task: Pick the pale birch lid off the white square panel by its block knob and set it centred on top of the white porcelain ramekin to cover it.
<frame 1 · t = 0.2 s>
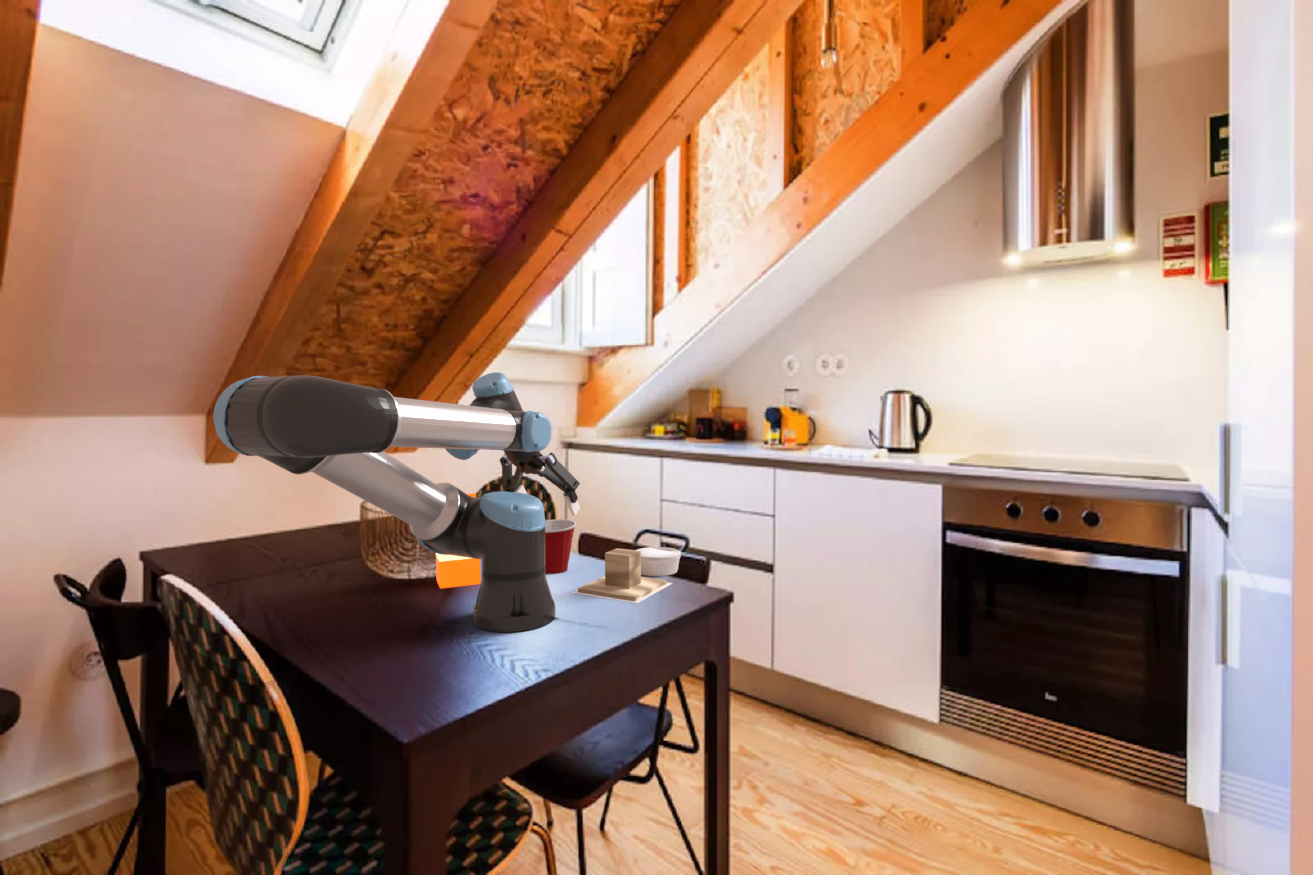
hand: (552, 510, 153), 15 cm above the table, tool tilted 35°, fingers open, 13 cm apart
white square panel: (623, 590, 140), on the table
birch lid: (623, 587, 140), point 1 cm above the table, touching white square panel
orange juice: (458, 582, 148), on the table
plastic cup: (554, 573, 155), on the table
ramekin: (657, 574, 155), on the table
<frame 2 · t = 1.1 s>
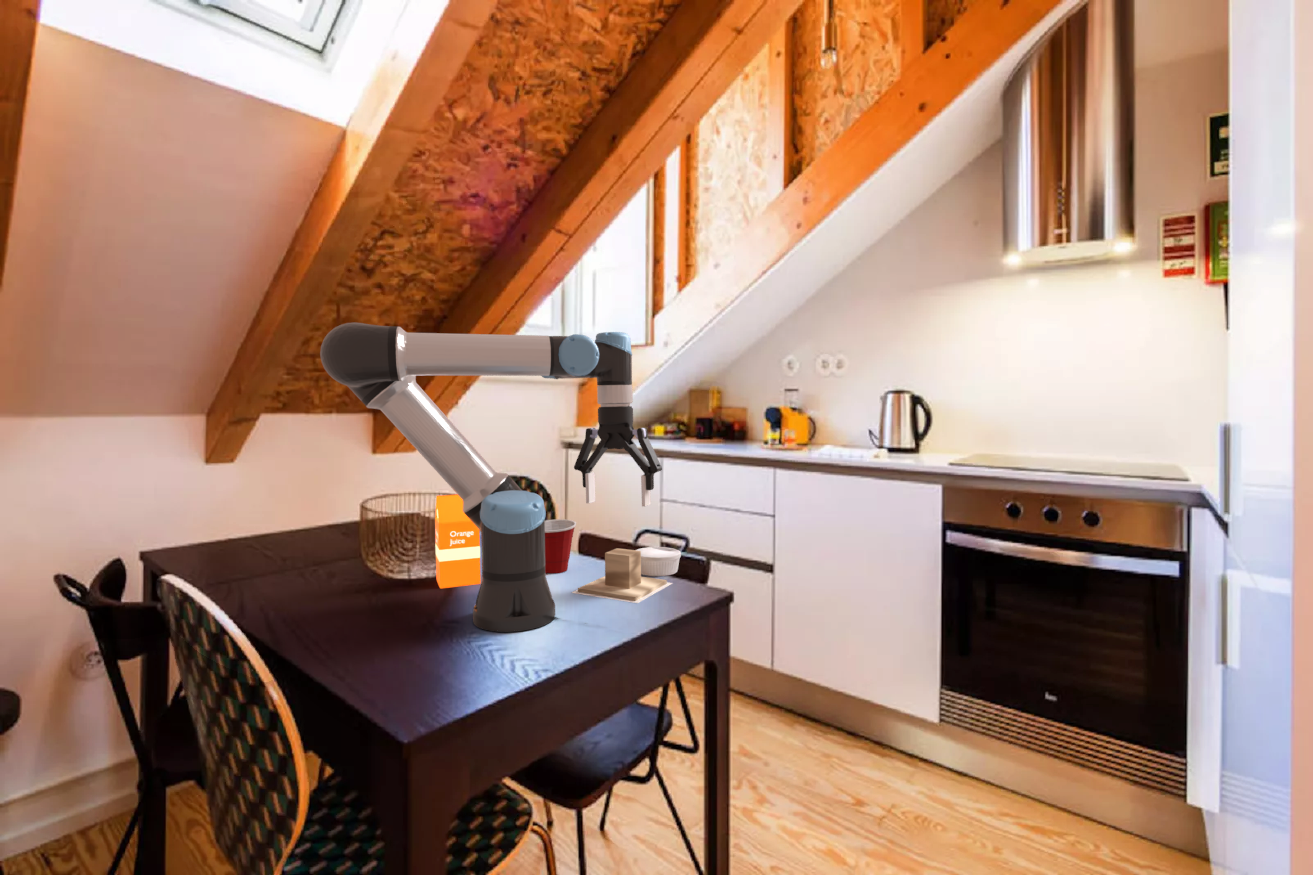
hand: (618, 504, 140), 19 cm above the table, tool pointing down, fingers open, 13 cm apart
nothing on the table moved.
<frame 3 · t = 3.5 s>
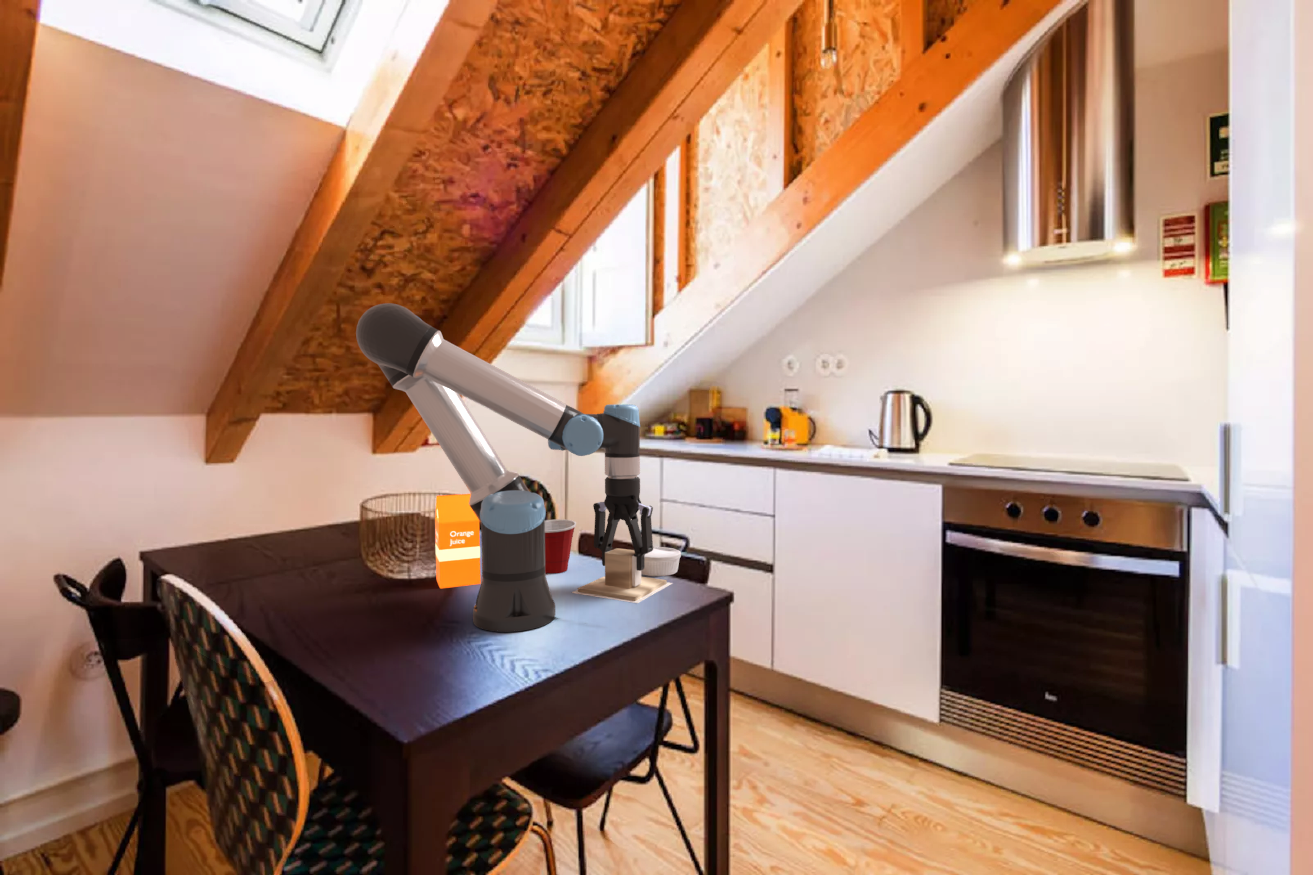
hand: (623, 582, 140), 2 cm above the table, tool pointing down, fingers closed on birch lid, 6 cm apart
birch lid: (623, 587, 140), point 1 cm above the table, touching white square panel, gripper
everything else where it was.
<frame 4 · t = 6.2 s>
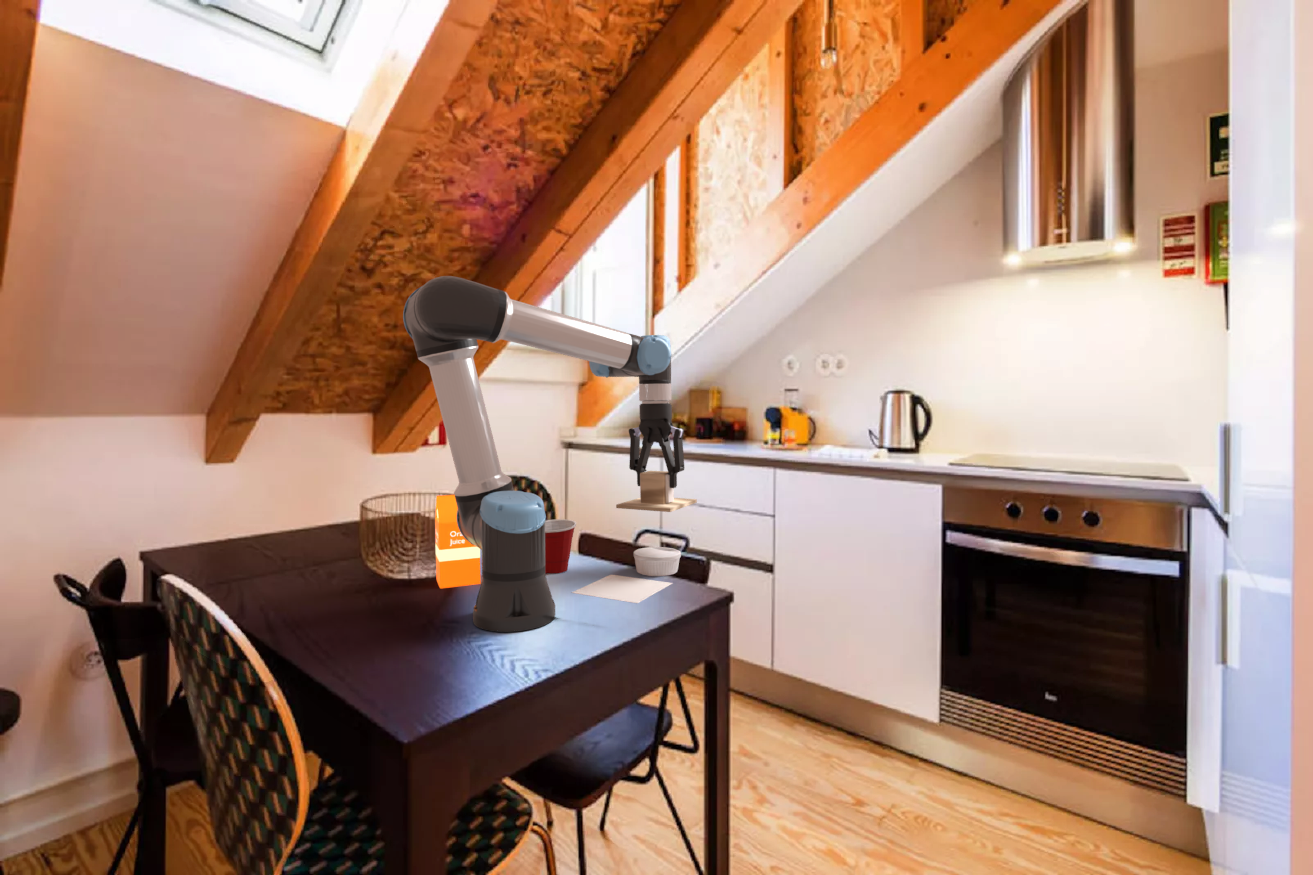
hand: (657, 500, 153), 17 cm above the table, tool pointing down, fingers closed on birch lid, 6 cm apart
birch lid: (657, 505, 153), point 16 cm above the table, touching gripper
everything else where it was.
when the fingers open (8 cm above the table, at t = 8.8 s): birch lid drops 1 cm, resting on ramekin.
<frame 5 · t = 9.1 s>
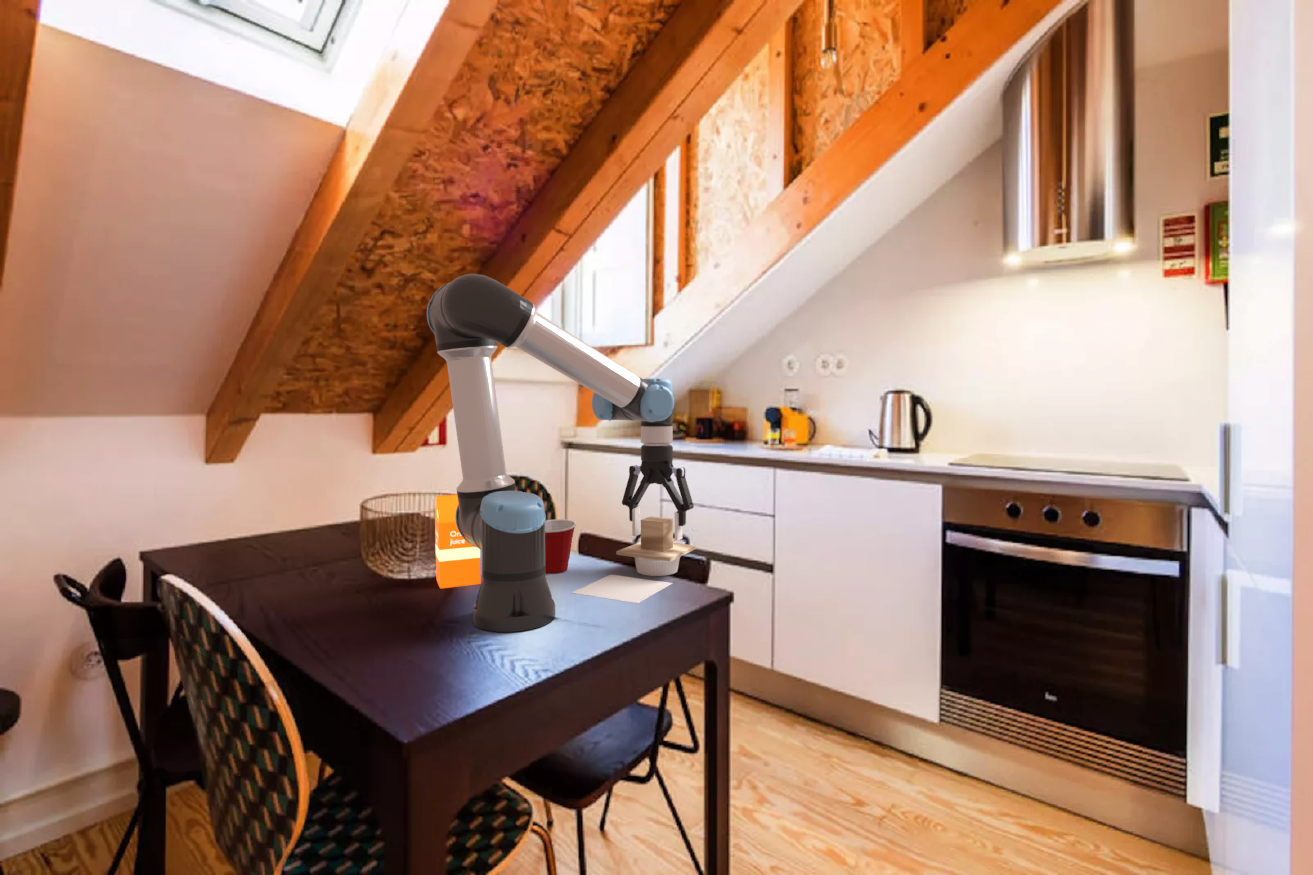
hand: (657, 537, 154), 9 cm above the table, tool pointing down, fingers open, 10 cm apart
birch lid: (657, 551, 154), point 5 cm above the table, touching ramekin
ramekin: (657, 574, 155), on the table, touching birch lid
everything else where it was.
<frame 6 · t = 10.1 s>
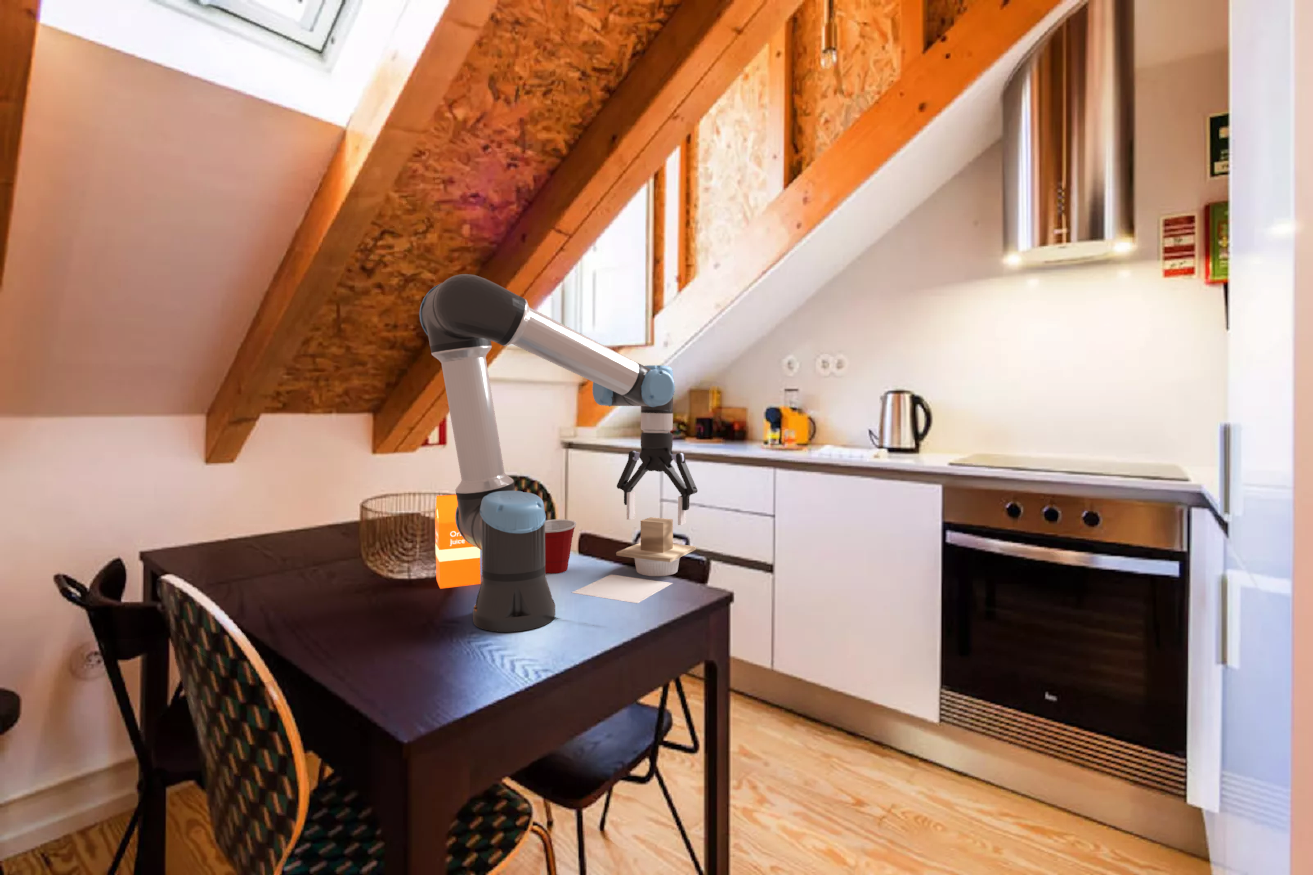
hand: (655, 521, 154), 12 cm above the table, tool pointing down, fingers open, 13 cm apart
nothing on the table moved.
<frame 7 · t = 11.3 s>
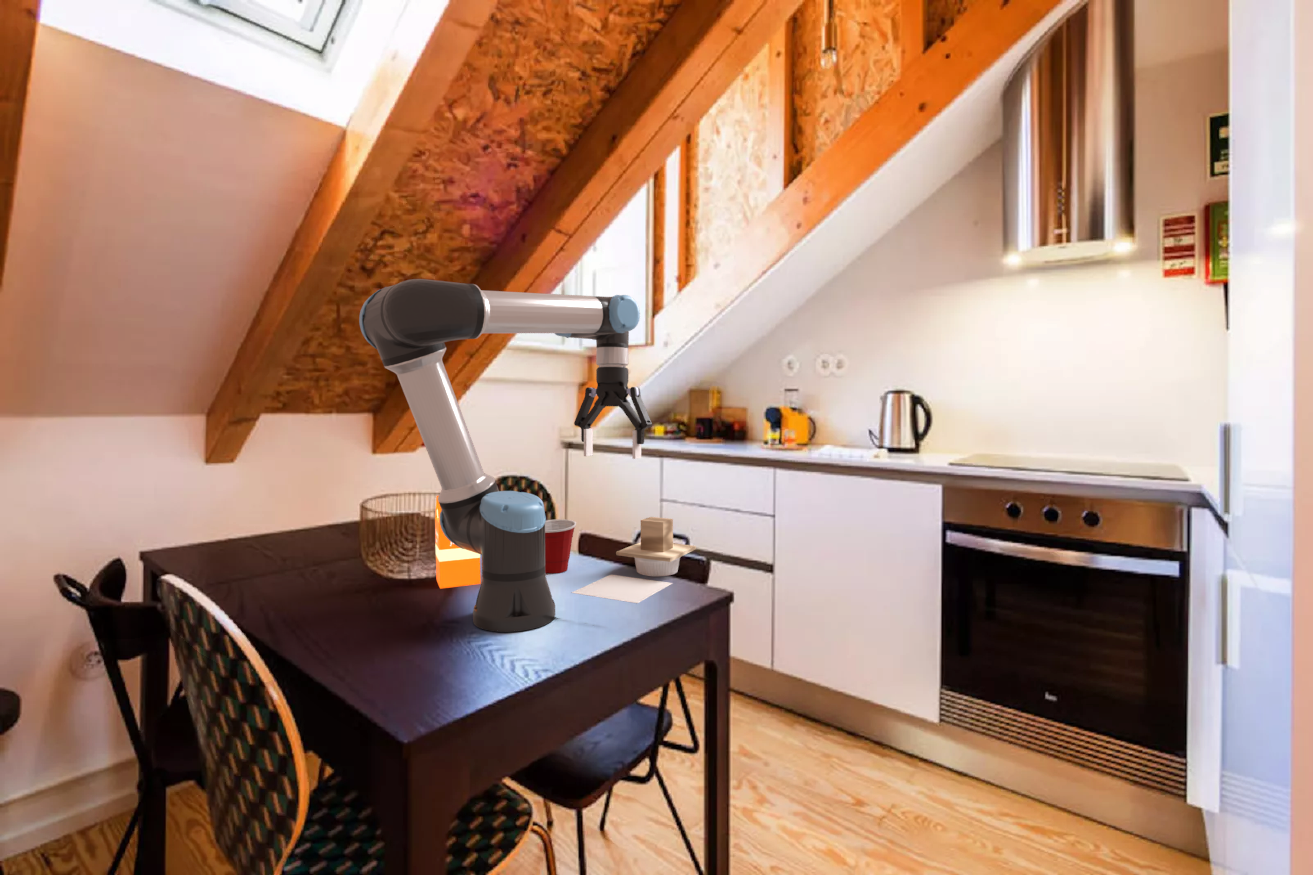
hand: (612, 457, 153), 28 cm above the table, tool pointing down, fingers open, 13 cm apart
nothing on the table moved.
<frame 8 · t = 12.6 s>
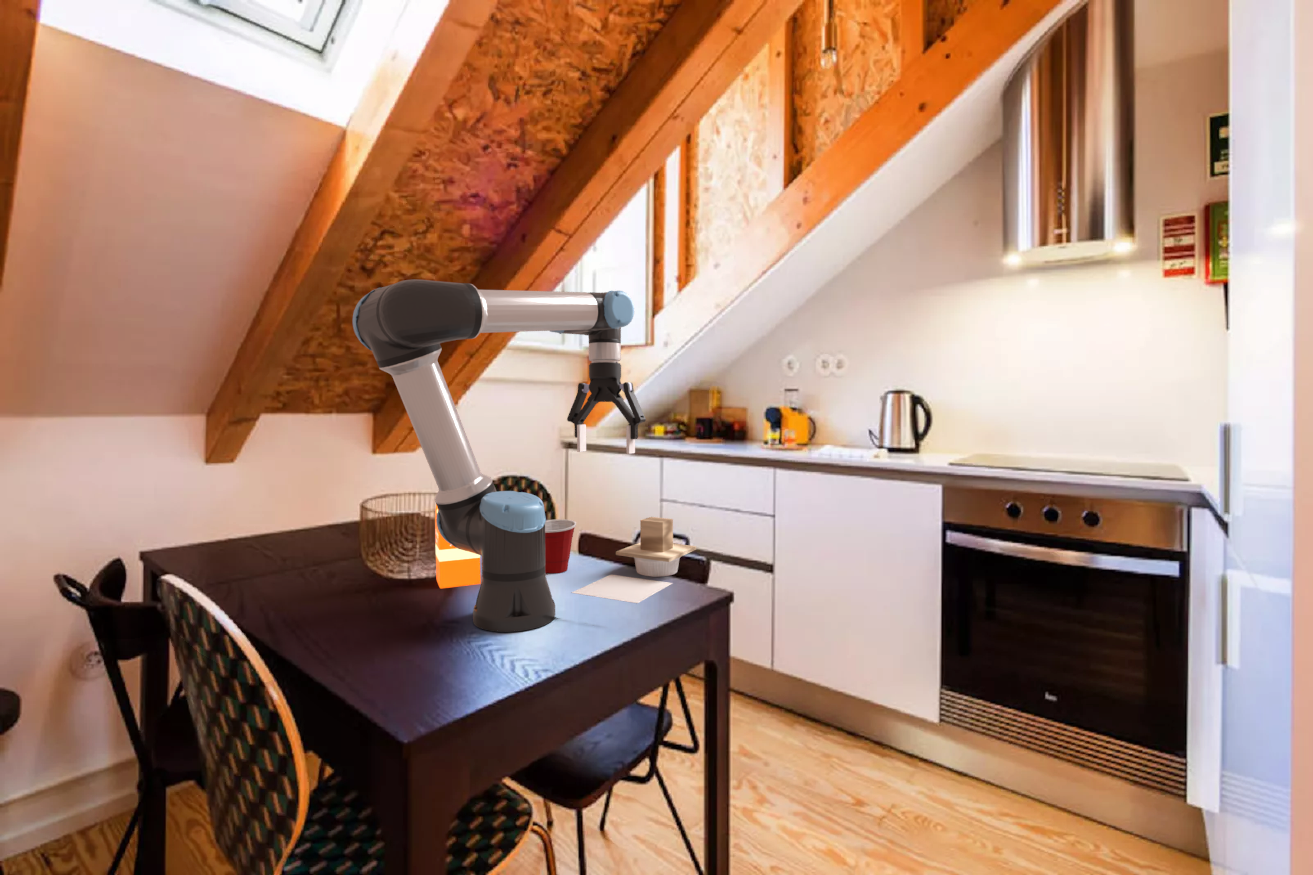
hand: (605, 452, 154), 29 cm above the table, tool pointing down, fingers open, 13 cm apart
nothing on the table moved.
at the end: birch lid 0.1 cm off-centre on the ramekin, point 5.4 cm above the ramekin's base; birch lid tilted 0°; the gripper is holding nothing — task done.
